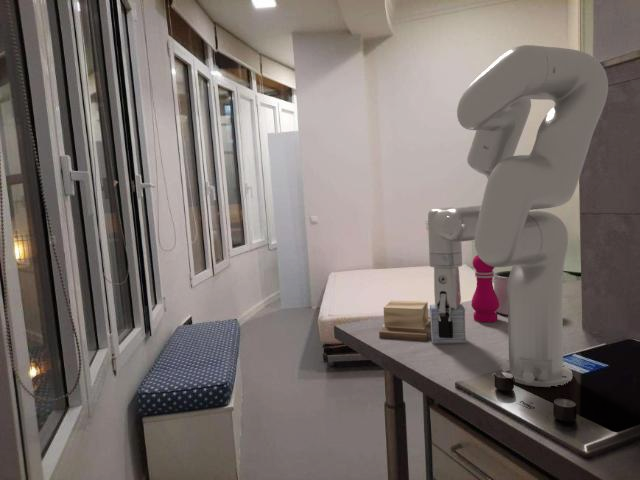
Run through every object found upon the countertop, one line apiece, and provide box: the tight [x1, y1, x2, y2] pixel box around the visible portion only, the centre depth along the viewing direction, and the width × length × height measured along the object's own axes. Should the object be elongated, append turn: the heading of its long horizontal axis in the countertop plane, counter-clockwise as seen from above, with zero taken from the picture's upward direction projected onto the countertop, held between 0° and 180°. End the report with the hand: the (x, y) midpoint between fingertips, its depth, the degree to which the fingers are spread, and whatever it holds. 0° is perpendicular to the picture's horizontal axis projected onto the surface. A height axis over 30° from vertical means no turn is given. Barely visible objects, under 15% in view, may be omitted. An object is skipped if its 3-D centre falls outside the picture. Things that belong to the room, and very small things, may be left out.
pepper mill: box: [471, 254, 499, 323], centre depth 130 cm, size 7×7×20 cm
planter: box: [493, 270, 511, 317], centre depth 137 cm, size 13×13×11 cm
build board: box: [378, 316, 431, 342], centre depth 126 cm, size 16×12×2 cm
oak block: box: [383, 300, 429, 328], centre depth 127 cm, size 8×10×5 cm
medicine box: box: [429, 303, 467, 344], centre depth 115 cm, size 8×4×9 cm, turn 80°
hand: (447, 333), depth 115 cm, fingers closed on medicine box, 5 cm apart
